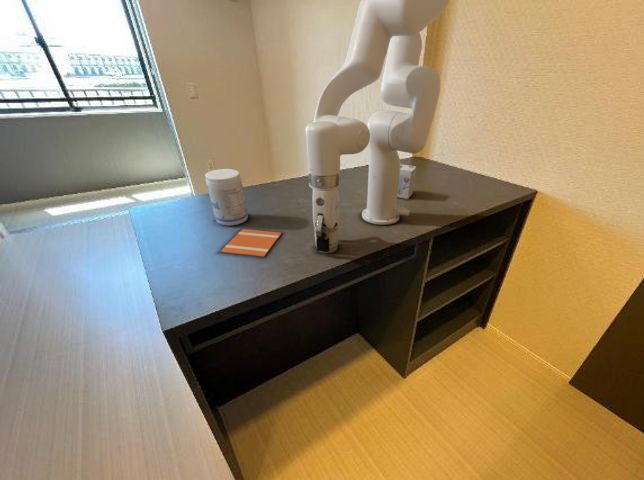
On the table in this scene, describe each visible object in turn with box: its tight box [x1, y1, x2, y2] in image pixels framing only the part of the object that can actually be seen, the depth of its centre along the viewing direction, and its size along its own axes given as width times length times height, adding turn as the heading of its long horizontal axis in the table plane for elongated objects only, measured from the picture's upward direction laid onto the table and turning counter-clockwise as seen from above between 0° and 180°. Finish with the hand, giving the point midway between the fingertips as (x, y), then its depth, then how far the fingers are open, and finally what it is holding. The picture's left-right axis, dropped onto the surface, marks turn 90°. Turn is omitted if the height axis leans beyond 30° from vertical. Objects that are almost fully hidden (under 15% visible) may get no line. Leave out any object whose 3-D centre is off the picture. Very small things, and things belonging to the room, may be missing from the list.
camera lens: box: [313, 222, 339, 254], centre depth 80 cm, size 6×6×8 cm
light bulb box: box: [397, 163, 417, 200], centre depth 114 cm, size 11×7×11 cm, turn 68°
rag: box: [220, 228, 283, 258], centre depth 84 cm, size 12×13×1 cm
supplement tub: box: [204, 168, 249, 227], centre depth 90 cm, size 10×10×15 cm
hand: (326, 242), depth 82 cm, fingers open, 7 cm apart
